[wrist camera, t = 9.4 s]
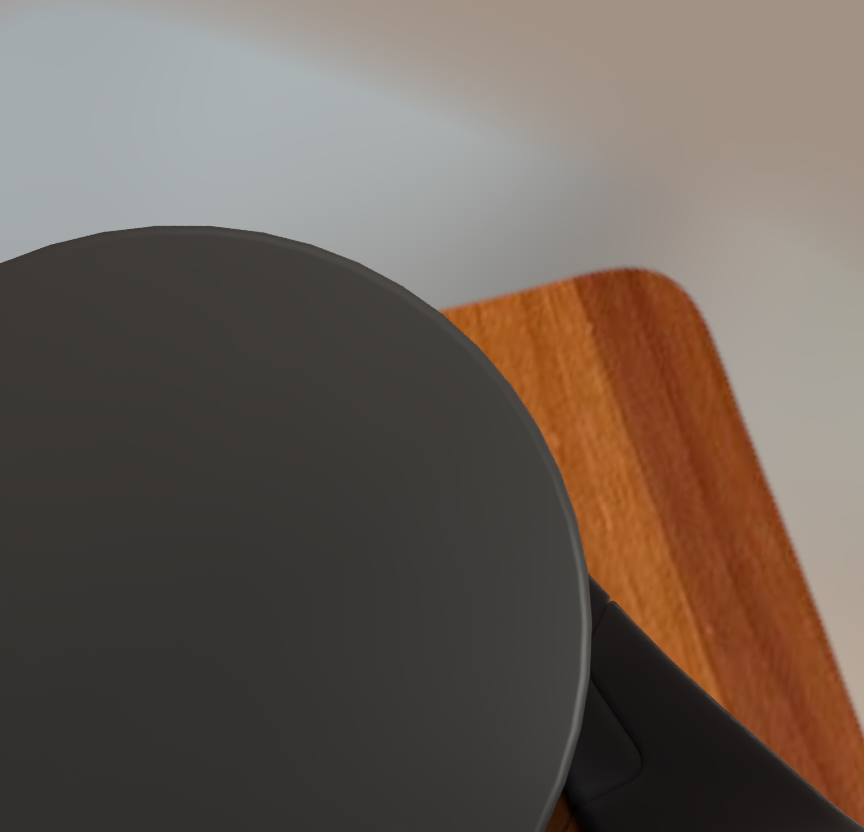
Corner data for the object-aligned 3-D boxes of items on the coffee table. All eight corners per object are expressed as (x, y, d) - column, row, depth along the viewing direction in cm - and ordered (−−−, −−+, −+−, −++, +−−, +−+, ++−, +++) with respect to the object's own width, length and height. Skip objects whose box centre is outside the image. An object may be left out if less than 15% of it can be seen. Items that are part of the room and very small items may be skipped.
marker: (411, 538, 15) (745, 550, 3) (308, 670, 15) (235, 1324, 3) (287, 439, 15) (143, 64, 3) (179, 567, 15) (-534, 722, 2)
